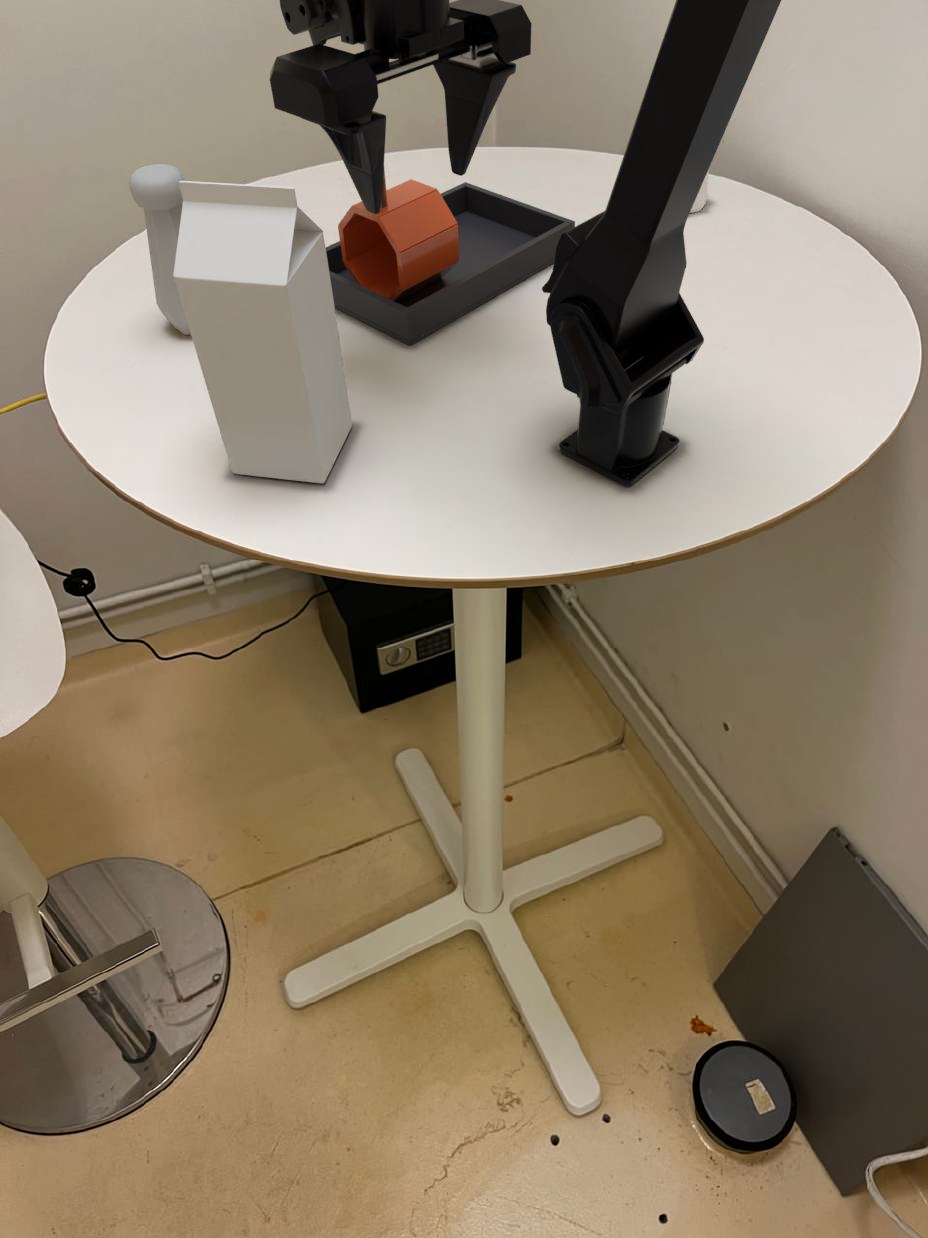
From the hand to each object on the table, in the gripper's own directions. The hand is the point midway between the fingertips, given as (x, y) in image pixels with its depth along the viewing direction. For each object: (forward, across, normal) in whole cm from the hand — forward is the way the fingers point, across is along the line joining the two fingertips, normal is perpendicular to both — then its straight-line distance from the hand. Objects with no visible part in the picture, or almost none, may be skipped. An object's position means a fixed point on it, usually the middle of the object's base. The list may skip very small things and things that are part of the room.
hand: (417, 192), depth 62 cm
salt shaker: (+13, +10, -19) cm, 25 cm away
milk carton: (+13, +16, +2) cm, 21 cm away
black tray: (+13, -11, -9) cm, 19 cm away
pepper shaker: (+13, -38, 0) cm, 40 cm away
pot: (+6, -9, -9) cm, 14 cm away
